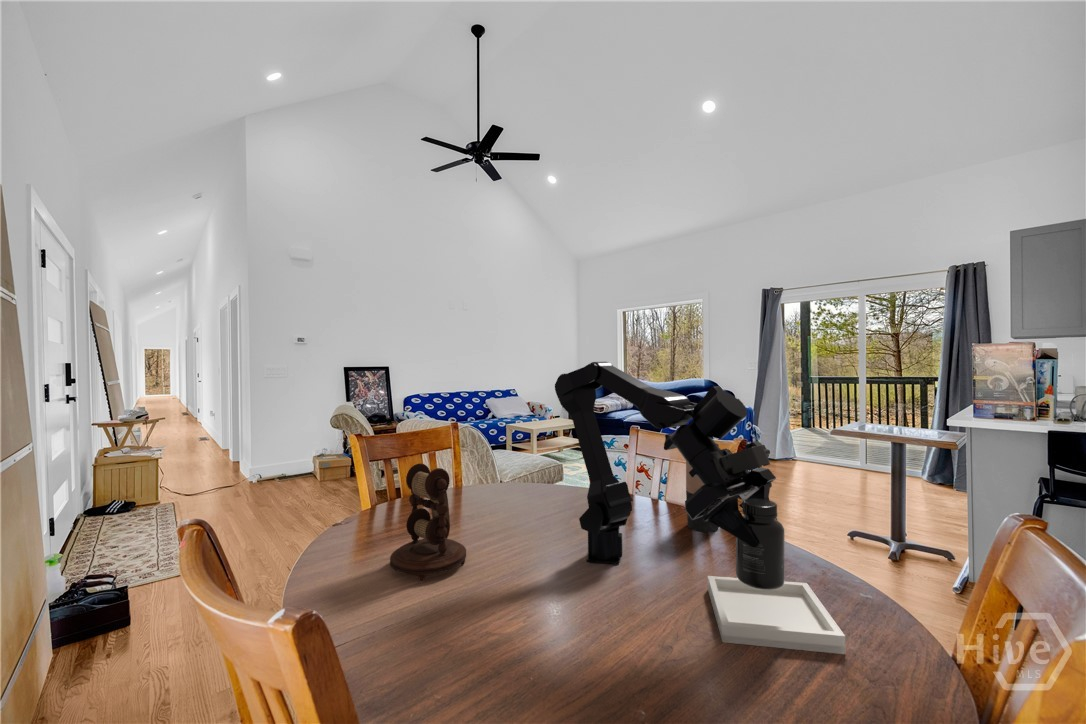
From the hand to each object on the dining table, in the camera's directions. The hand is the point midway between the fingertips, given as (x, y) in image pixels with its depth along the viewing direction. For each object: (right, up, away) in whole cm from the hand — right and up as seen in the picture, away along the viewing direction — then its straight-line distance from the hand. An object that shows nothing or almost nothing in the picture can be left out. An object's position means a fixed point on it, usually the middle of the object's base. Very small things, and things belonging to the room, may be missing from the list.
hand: (768, 540), depth 73 cm
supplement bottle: (-1, -7, +1) cm, 7 cm away
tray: (+1, -13, +3) cm, 14 cm away
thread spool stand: (-57, -14, +24) cm, 63 cm away
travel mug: (+4, -13, +44) cm, 46 cm away
